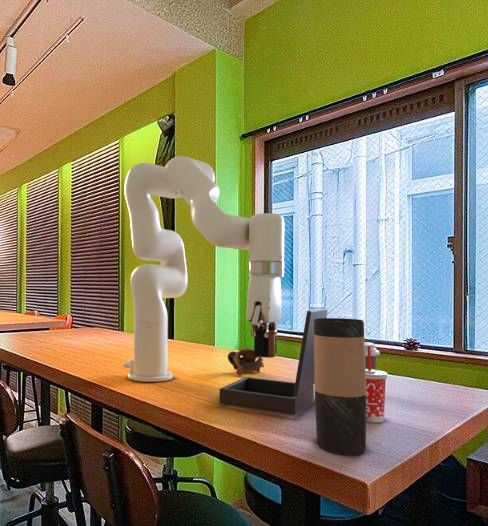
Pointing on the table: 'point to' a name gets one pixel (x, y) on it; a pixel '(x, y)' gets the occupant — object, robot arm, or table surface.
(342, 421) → the travel mug
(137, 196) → the robot arm
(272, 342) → the orange brown spool
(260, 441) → the table surface
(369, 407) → the beverage cup
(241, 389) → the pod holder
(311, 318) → the lid
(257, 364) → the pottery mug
